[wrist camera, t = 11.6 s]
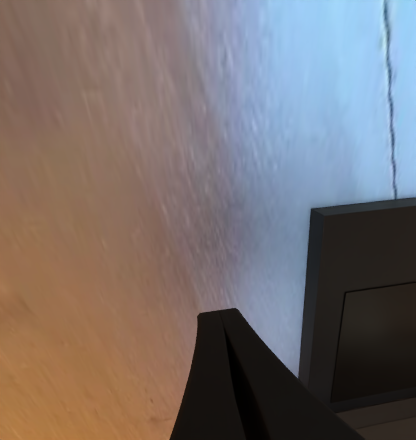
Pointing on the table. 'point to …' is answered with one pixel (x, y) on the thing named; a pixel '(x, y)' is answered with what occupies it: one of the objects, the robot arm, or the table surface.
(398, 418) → the laptop screen
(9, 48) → the table surface
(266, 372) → the robot arm
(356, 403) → the laptop
